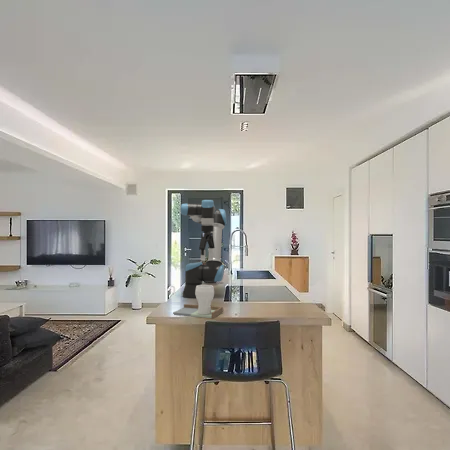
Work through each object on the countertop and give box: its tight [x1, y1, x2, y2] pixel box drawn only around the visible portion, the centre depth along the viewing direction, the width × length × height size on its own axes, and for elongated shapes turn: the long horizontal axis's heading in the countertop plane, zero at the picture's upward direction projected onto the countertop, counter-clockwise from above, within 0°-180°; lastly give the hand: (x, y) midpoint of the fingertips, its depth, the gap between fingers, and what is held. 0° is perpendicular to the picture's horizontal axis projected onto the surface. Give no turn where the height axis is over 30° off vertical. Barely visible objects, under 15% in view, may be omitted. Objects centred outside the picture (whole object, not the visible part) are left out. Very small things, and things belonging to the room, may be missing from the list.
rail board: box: [172, 303, 224, 319], centre depth 244 cm, size 16×24×3 cm, turn 72°
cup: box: [195, 284, 215, 314], centre depth 240 cm, size 11×11×15 cm
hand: (206, 259), depth 264 cm, fingers open, 13 cm apart
